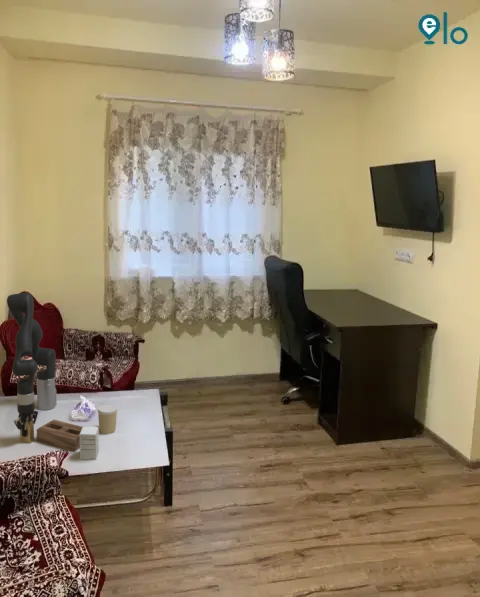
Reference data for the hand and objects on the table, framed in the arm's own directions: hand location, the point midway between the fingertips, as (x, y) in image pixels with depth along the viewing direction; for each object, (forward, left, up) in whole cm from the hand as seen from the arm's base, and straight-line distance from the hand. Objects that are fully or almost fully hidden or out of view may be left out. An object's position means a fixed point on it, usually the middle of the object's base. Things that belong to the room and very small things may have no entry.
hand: (26, 434), depth 247 cm
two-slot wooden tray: (-8, +15, -3) cm, 17 cm away
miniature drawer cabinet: (-2, +34, -3) cm, 34 cm away
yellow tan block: (0, 0, -3) cm, 3 cm away
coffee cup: (-26, +27, -3) cm, 38 cm away
